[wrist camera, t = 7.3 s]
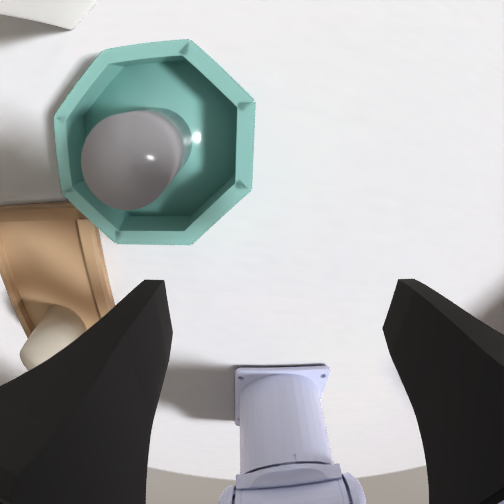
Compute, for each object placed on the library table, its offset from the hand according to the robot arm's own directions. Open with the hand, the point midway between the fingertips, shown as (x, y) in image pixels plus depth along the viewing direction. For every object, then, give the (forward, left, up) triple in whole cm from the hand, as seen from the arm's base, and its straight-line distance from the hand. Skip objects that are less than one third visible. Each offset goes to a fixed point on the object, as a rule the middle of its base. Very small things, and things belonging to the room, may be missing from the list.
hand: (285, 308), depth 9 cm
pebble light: (-10, +16, -9) cm, 21 cm away
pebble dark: (+3, +6, -9) cm, 12 cm away
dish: (+4, +6, -10) cm, 12 cm away
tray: (-7, +16, -10) cm, 20 cm away
